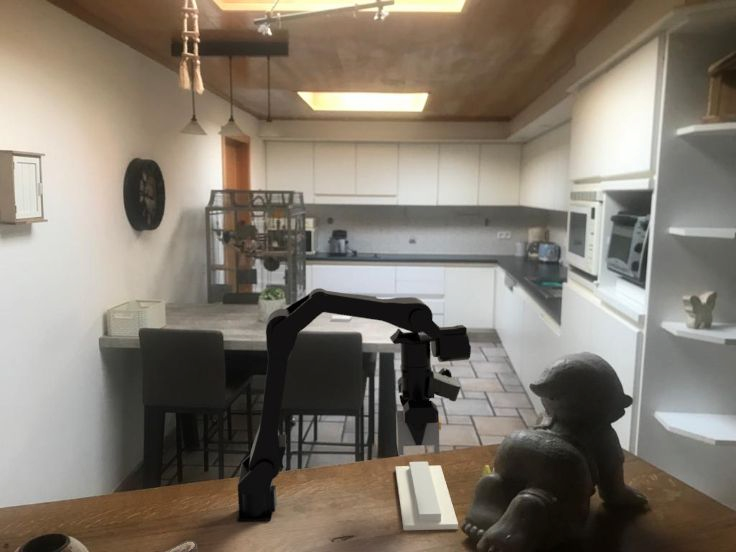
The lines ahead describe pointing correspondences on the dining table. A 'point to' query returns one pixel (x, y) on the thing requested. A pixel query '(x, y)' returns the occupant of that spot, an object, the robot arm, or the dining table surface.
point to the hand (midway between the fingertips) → (417, 438)
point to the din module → (407, 440)
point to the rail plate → (411, 505)
